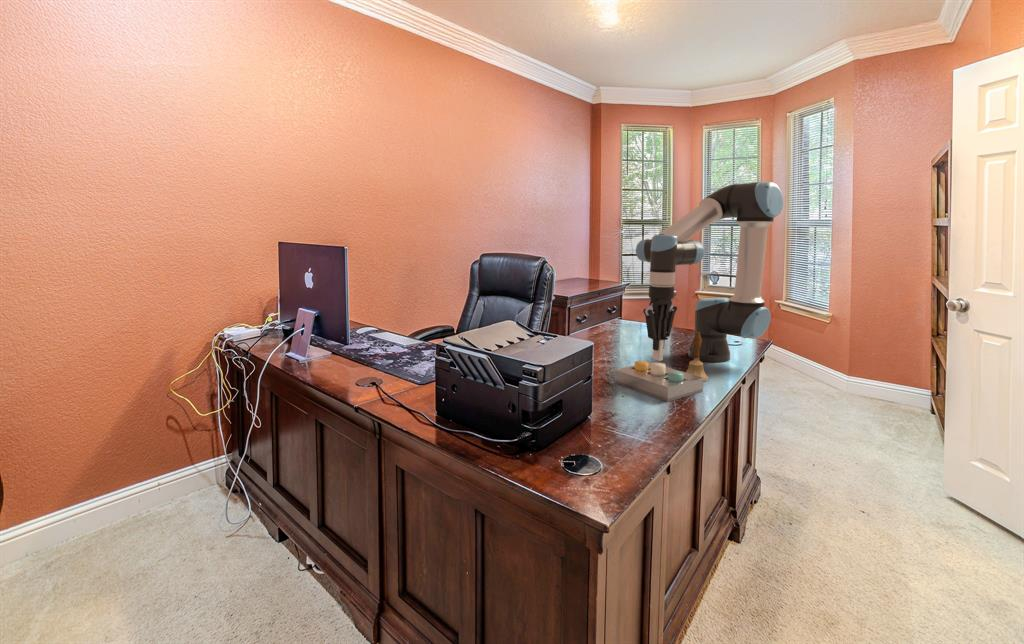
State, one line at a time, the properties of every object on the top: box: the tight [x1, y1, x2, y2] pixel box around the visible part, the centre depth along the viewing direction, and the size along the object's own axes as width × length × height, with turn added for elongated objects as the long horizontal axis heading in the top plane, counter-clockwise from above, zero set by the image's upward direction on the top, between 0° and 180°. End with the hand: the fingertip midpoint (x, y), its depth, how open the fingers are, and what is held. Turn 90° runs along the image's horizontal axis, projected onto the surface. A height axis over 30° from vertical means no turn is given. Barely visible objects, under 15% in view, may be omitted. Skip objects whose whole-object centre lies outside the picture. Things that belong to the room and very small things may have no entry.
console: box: [614, 361, 704, 403], centre depth 162 cm, size 16×22×4 cm
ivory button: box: [650, 362, 667, 377], centre depth 162 cm, size 5×5×4 cm
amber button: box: [633, 360, 649, 372], centre depth 168 cm, size 5×5×4 cm
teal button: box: [668, 370, 684, 383], centre depth 156 cm, size 5×5×4 cm
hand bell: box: [685, 332, 709, 382], centre depth 170 cm, size 8×8×16 cm
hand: (657, 359), depth 161 cm, fingers closed
